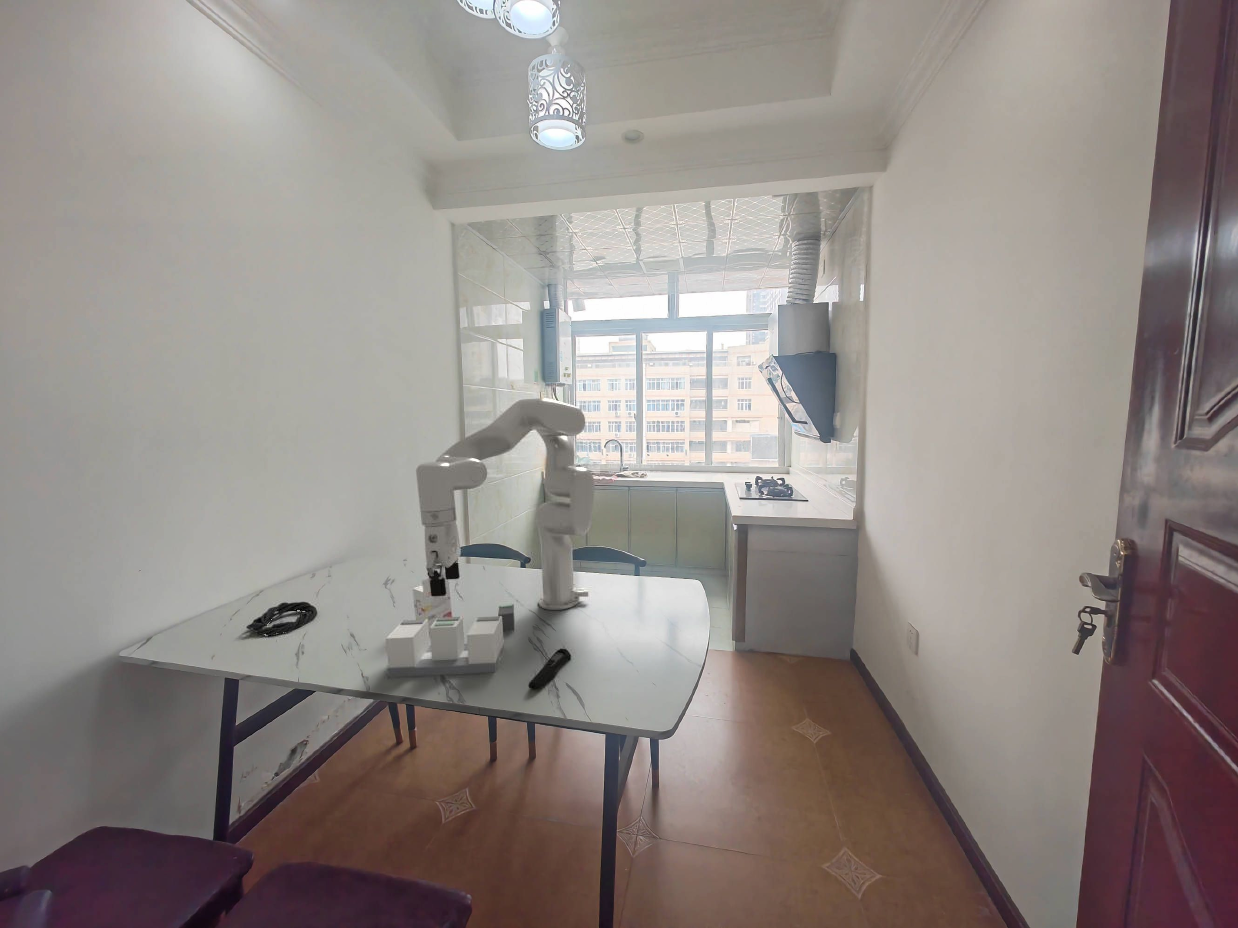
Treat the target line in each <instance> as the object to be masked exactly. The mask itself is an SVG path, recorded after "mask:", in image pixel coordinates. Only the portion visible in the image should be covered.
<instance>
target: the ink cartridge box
mask: <svg viewBox="0 0 1238 928" xmlns="http://www.w3.org/2000/svg"><path fill="white" fill-rule="evenodd" d="M443 578H445V585H446V595H445V596H434V597H433V596H431V589H430V580H429V577H428V578H425V579H423V580H422V581H421V584H422V585H419V586H417V587H414V588H412V594H413V595H412V596H413V605H414V615H415V616H414V617H415V620H426V619H428V626H429V632H430V627H431V625H432V624H433V623H434V622H435V620H436V619H437V618H442V617H453V614H452V603H451V602H452V601H451V600H452V599H451V589H450V588H451V587H450V581H449V580H447V579H446V575H445V571H444V573H443Z"/></svg>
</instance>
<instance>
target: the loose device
mask: <svg viewBox="0 0 1238 928" xmlns="http://www.w3.org/2000/svg"><path fill="white" fill-rule="evenodd" d="M514 605H515V604H513V603H507V604H506V603H505V604H500V605H499V606H498V613H497V616H502V624H503V633H504V632H510V631H511V632H512V631H515V606H514Z"/></svg>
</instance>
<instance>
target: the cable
mask: <svg viewBox="0 0 1238 928" xmlns="http://www.w3.org/2000/svg"><path fill="white" fill-rule="evenodd" d="M297 610H300V611H305V612H300V613H299V616H297V617H296V619H295V621H285V622H278V623H273V624H272V625H268V626H267V624H268V623H269V622H271V621H272V620H273V619H275V620H277V619H279V617H280V616H282V615H283V614H286V613H289V612H291V611H297ZM317 616H318V610H317V608H316V607H315V606H314V605H313V604H311V603H309V602H307V601H300V602H297V601H294V602H281V603H279V604H278V605H276V606H272V607H270V608H268V609H267V610H266V611H265V612H263V614H262V615H260V616H258V617H257V618H255V619H253V621H252V623H250V624H247V626H246V629H247V630H251V628H252V629H253V630H252V631H254V632H256V633H257V632H258V634H259V635H262V634H266V635H271V636H273V634H276V633H283V632H287V633H289V632H291V631H293V630H295V629H294V628H296V629H297V627H298V628H299V627H302V626H303V625H304V624H307V623H309V622H308V621H310V622H311V620H312V621H313V620H315V618H316V617H317ZM271 619H272V620H271ZM273 621H274V620H273ZM273 621H272V622H273ZM272 622H271V623H272ZM306 622H307V623H306ZM292 629H293V630H292ZM283 634H284V633H283ZM276 635H277V634H276Z"/></svg>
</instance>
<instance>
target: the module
mask: <svg viewBox="0 0 1238 928" xmlns="http://www.w3.org/2000/svg"><path fill="white" fill-rule="evenodd" d="M463 619H464V618H463V616H452V617H442V618H437V619H436V620H435V622H434V623H433V624H432V625H431V627H430V631H429V639H430V646H431V652H432V661H437V660H458V659H459V657H460V656H461V654H462V652H463V651H464V649H465V646H464V644H465V637H464V635H465V634H464V633H465V632H464V621H463Z"/></svg>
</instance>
